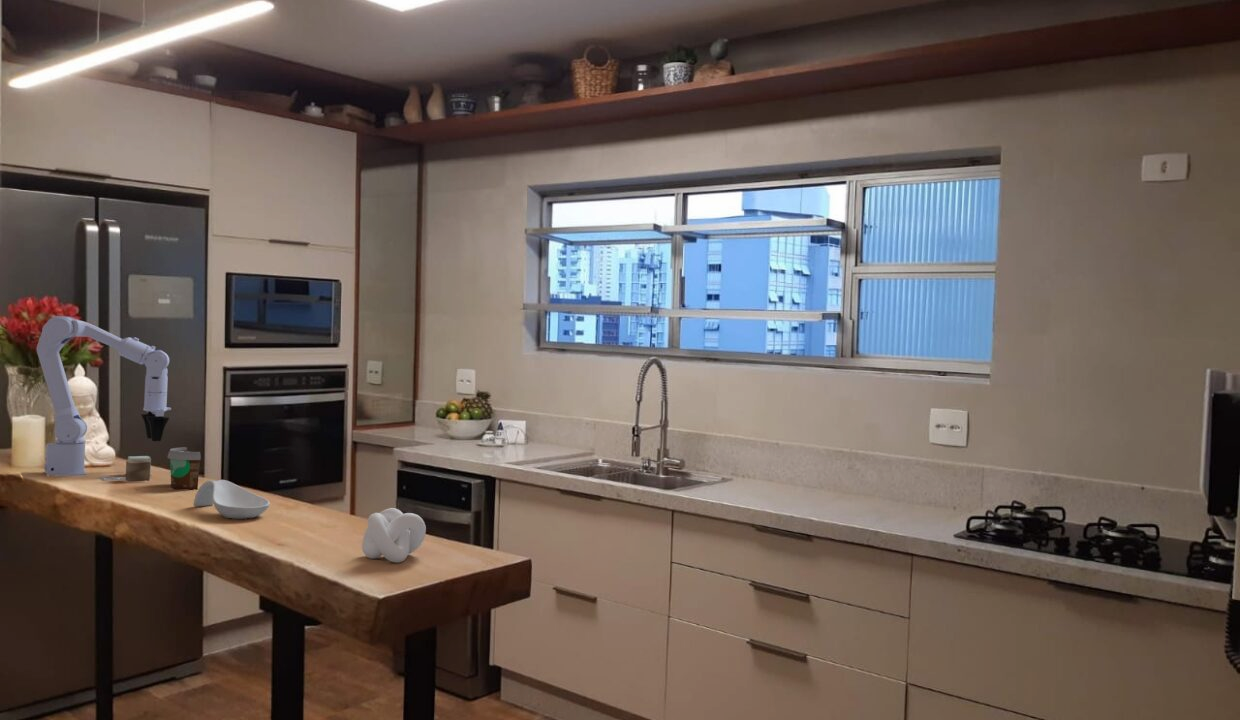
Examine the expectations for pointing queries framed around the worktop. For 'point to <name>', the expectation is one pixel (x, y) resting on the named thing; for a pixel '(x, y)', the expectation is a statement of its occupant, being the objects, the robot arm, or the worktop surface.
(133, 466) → the walnut block
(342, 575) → the worktop surface
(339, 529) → the worktop surface
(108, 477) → the tile
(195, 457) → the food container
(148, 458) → the sage block
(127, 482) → the coaster
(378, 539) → the grey knot sculpture
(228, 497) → the spoon rest
